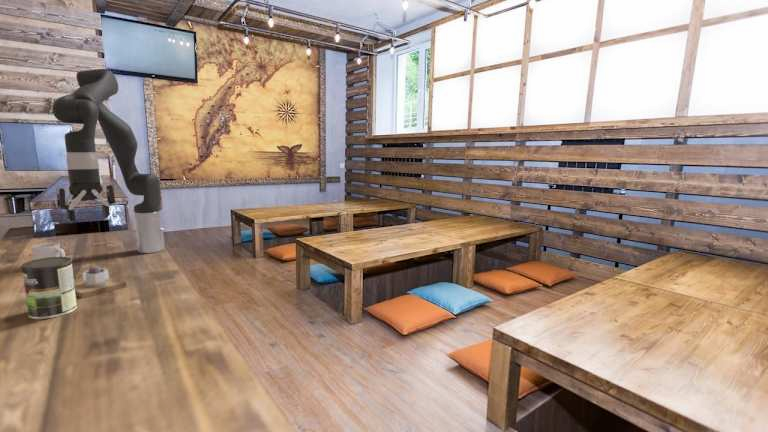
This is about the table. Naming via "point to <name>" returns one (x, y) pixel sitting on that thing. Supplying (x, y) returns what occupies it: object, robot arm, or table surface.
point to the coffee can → (49, 287)
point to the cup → (47, 250)
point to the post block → (89, 291)
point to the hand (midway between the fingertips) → (89, 219)
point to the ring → (95, 278)
